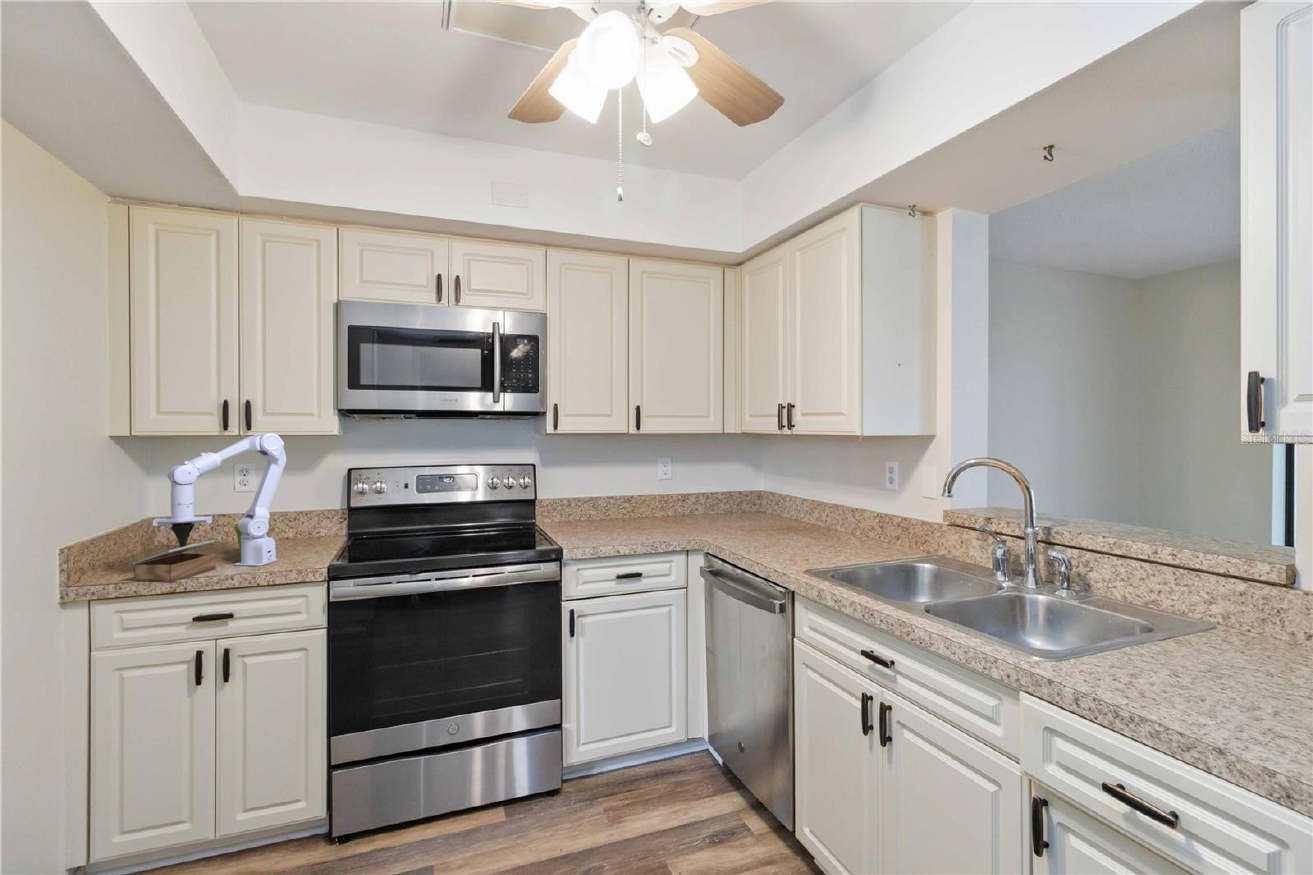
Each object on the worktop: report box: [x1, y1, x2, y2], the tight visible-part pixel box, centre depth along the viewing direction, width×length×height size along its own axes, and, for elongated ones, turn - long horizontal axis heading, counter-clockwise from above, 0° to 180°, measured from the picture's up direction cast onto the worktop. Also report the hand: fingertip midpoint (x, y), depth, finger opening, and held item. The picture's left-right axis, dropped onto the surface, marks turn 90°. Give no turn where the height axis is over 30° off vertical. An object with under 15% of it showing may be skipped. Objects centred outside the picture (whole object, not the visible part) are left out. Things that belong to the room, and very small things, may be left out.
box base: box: [133, 552, 217, 583], centre depth 186 cm, size 12×16×5 cm
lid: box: [132, 539, 216, 565], centre depth 186 cm, size 12×16×1 cm
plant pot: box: [232, 521, 273, 554], centre depth 215 cm, size 12×12×11 cm
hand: (183, 547), depth 187 cm, fingers closed, pressing on lid
